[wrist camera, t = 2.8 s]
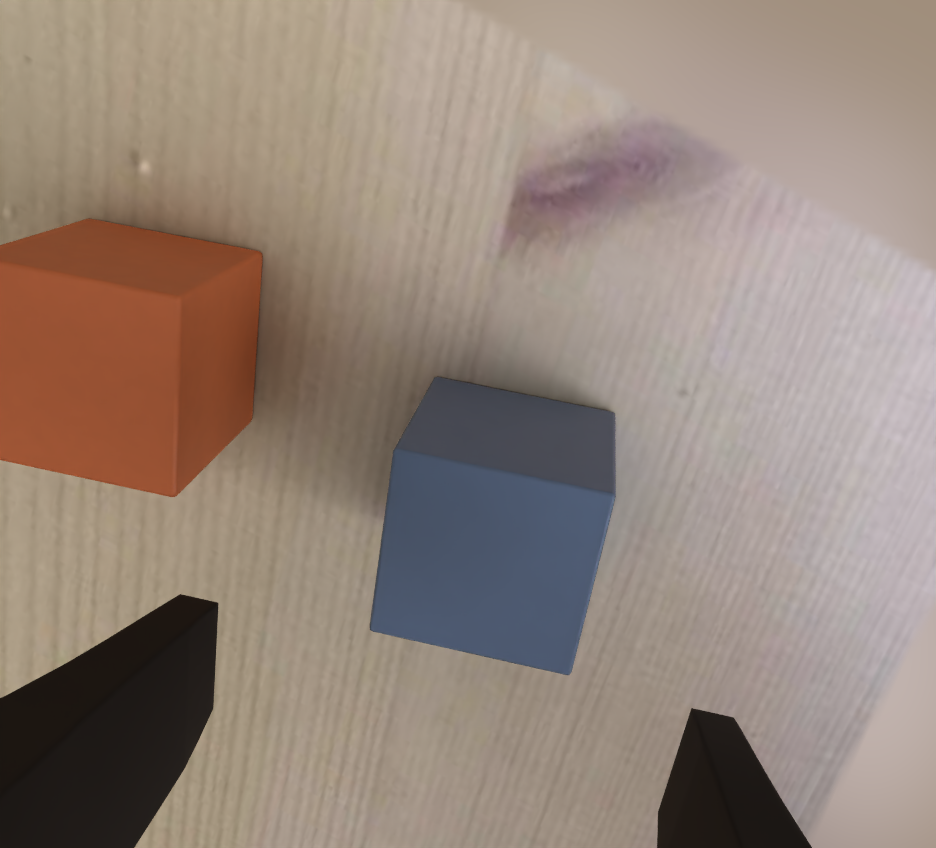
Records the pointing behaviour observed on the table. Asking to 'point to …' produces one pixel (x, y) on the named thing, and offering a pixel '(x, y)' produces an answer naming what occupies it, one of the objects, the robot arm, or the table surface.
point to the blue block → (495, 524)
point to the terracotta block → (125, 352)
